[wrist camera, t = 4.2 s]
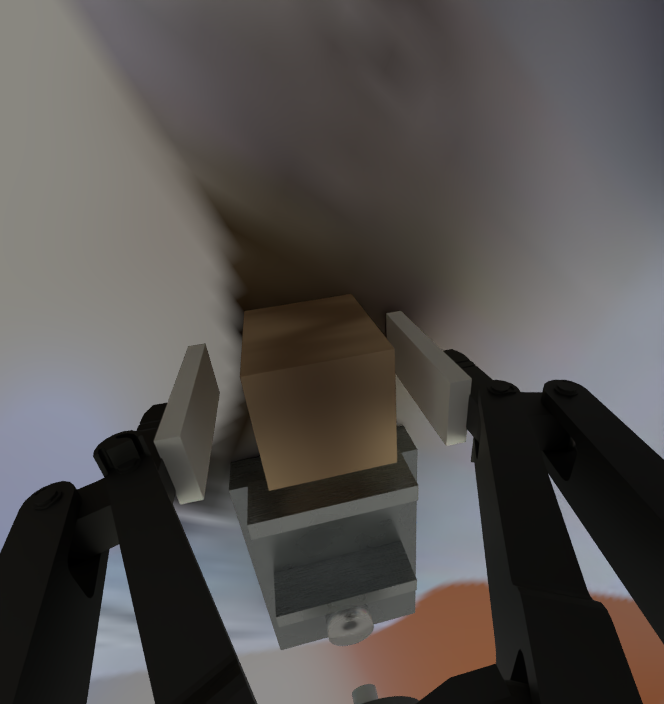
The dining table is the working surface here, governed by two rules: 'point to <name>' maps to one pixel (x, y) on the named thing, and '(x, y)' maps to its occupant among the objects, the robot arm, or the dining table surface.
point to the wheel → (368, 699)
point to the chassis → (332, 547)
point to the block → (318, 390)
